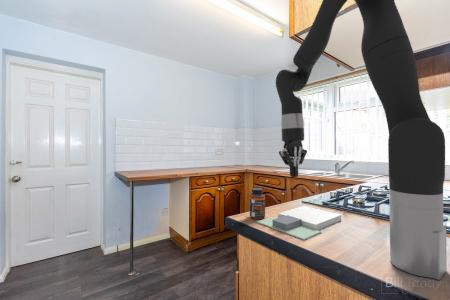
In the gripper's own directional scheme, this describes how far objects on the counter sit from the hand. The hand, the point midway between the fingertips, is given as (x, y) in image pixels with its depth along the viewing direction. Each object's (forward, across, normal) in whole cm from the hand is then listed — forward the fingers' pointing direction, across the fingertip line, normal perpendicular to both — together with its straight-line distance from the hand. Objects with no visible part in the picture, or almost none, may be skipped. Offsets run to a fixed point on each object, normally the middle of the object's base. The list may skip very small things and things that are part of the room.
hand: (294, 176), depth 79 cm
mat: (+17, -5, 0) cm, 17 cm away
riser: (+17, +8, 0) cm, 19 cm away
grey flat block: (+16, -4, +1) cm, 17 cm away
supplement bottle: (+17, -5, +14) cm, 23 cm away
